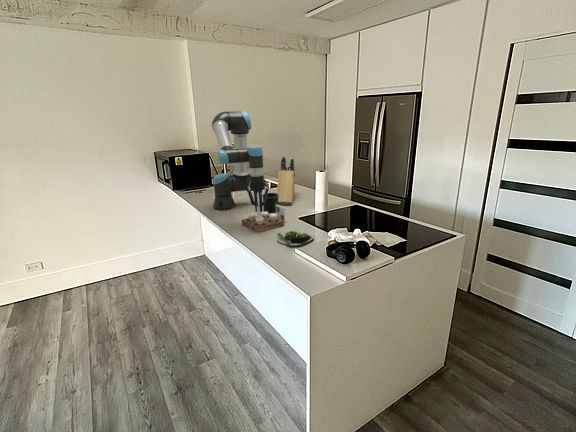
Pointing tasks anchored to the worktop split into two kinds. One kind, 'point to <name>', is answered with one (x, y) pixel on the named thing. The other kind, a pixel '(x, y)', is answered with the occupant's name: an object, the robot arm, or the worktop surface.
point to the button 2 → (259, 221)
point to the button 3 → (264, 214)
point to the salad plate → (295, 238)
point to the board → (266, 224)
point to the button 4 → (273, 217)
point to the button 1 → (251, 217)
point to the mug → (271, 202)
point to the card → (280, 213)
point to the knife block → (286, 183)
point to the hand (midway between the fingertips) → (259, 217)
